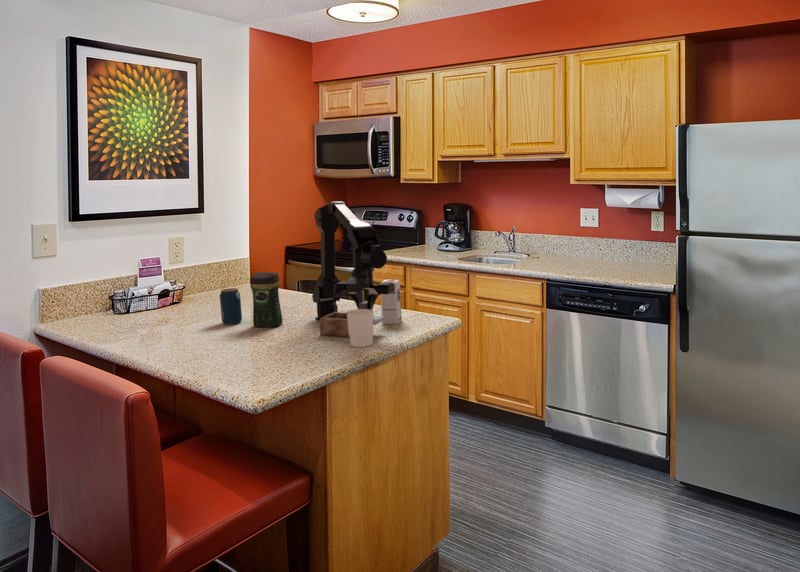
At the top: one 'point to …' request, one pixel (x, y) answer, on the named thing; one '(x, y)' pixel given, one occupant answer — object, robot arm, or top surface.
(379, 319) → the cover plate
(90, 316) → the top surface
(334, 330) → the walnut box
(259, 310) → the coffee jar
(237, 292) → the soda can
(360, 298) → the robot arm
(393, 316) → the syrup box
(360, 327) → the beige cup
